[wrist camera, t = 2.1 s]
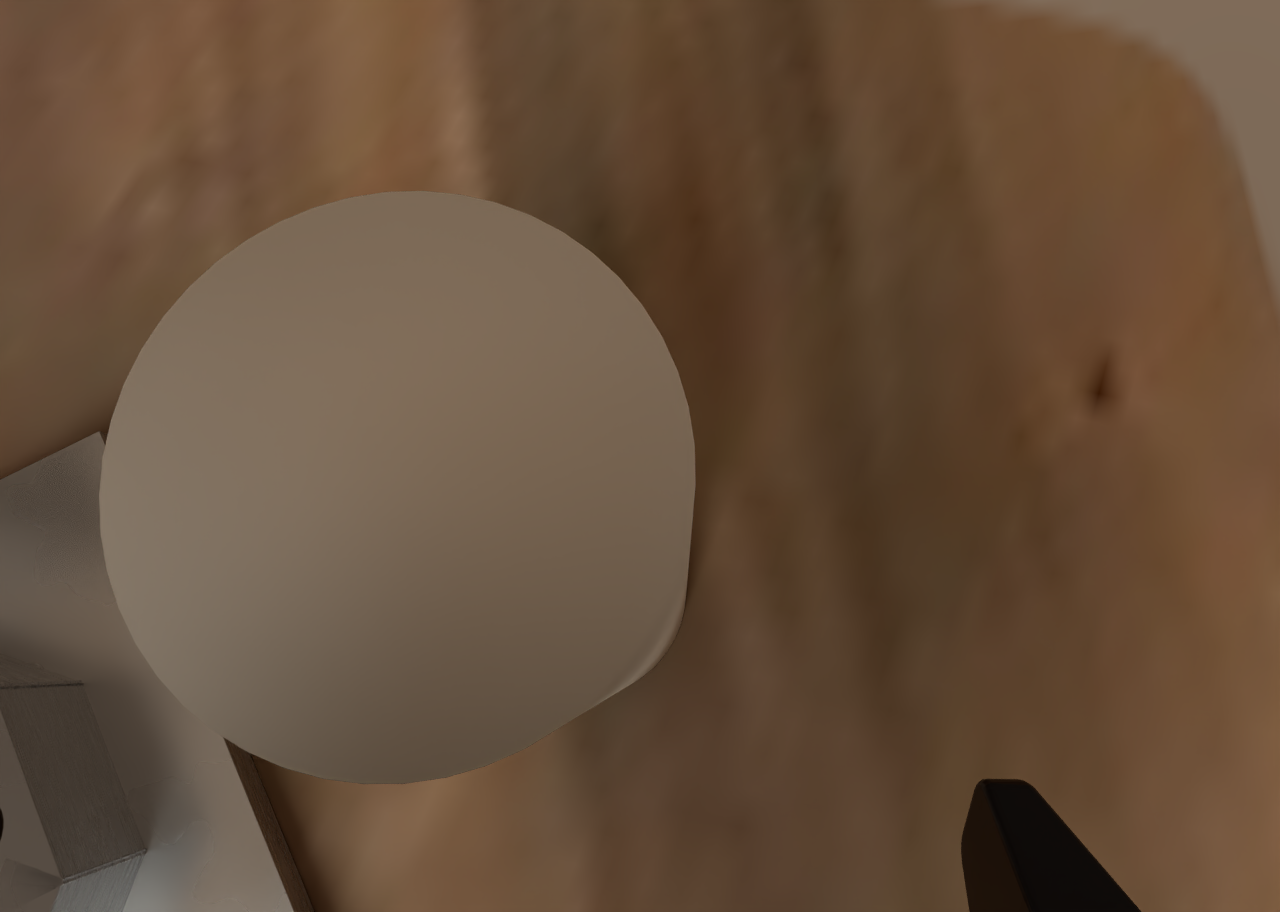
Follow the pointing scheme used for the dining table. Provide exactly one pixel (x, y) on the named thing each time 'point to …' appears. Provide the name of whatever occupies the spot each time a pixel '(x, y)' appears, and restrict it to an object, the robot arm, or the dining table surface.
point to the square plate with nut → (110, 736)
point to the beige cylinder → (400, 489)
